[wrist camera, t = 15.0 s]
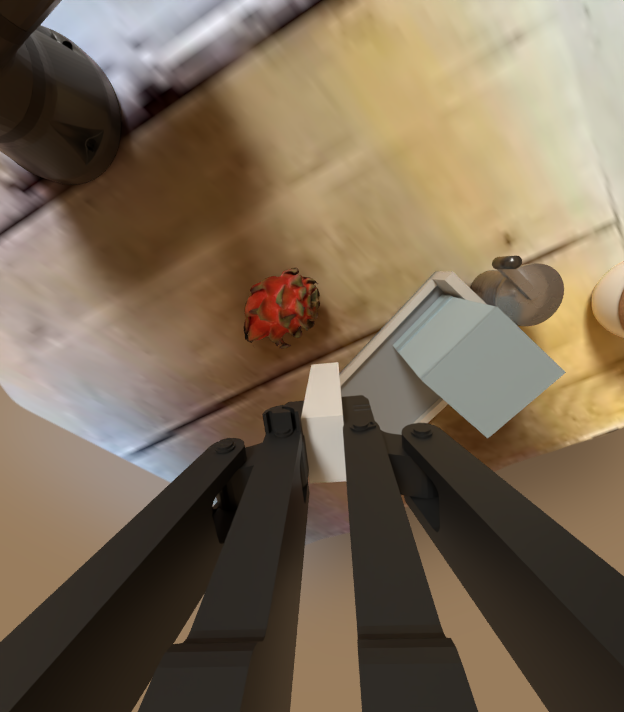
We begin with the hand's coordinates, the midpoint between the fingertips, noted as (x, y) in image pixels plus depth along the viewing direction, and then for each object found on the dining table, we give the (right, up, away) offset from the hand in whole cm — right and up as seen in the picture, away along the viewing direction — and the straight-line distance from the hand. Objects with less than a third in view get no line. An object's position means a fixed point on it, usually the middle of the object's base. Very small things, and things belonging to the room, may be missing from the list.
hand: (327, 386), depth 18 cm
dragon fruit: (-5, +9, +26) cm, 27 cm away
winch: (+21, +11, +23) cm, 33 cm away
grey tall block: (+16, +4, +25) cm, 31 cm away
